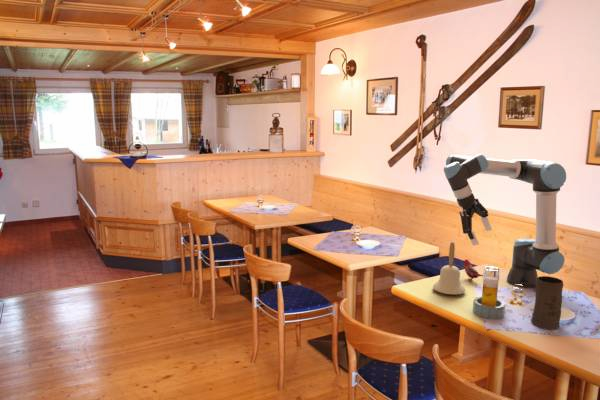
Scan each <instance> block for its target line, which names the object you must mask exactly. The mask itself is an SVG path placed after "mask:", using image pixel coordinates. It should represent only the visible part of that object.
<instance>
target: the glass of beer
mask: <svg viewBox="0 0 600 400" xmlns="http://www.w3.org/2000/svg"><path fill="white" fill-rule="evenodd" d="M498 290H499V281H498V278H496V277H493V276H485V278H484V279H483V278H482V291H481V292H482V294H481V297H482V302H481V304H482V305H485V306H489V307H496V302H497V299H498Z"/></svg>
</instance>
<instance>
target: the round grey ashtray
mask: <svg viewBox="0 0 600 400" xmlns="http://www.w3.org/2000/svg"><path fill="white" fill-rule="evenodd" d="M481 302H482V296H479V297H474V299H473V303H472V312H473V313H474V314H475V315H476V316H477V317H480V318H485V319H488V320H489V319H490V320H498V319H502V318H503V317H504V316H505V308H506V303H504V301H502V300H500V299H498V298H497V302H496V307H489V306H485V305H482V304H481Z"/></svg>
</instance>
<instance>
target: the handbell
mask: <svg viewBox="0 0 600 400" xmlns="http://www.w3.org/2000/svg"><path fill="white" fill-rule="evenodd" d="M455 246H456V245H455V242H454V241H451V242H450V244H449V249H448V264H447V265H443V266H442V267H441V269H440V273H439V275H440V276H439V279H438V280H437V281H436V282H435V283H433V284H432V288H433V290H435V291H436V292H439V293H442V294H446V295H453V296H454V295H462V294H464V293H465V292H466V288H465V286H464V285H463V284H462V282H461V281H460V278H461V272H460V269H459V268H458V267H457V266H455V265H453V264H454V259H455Z"/></svg>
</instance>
